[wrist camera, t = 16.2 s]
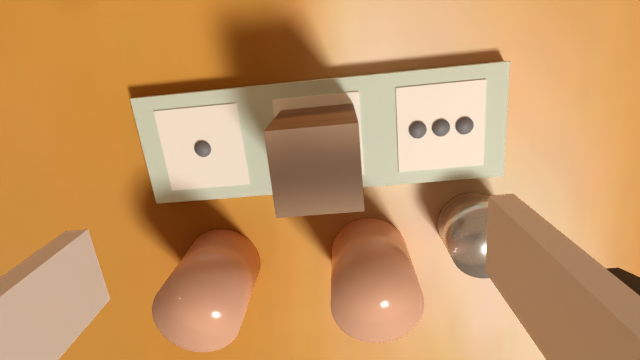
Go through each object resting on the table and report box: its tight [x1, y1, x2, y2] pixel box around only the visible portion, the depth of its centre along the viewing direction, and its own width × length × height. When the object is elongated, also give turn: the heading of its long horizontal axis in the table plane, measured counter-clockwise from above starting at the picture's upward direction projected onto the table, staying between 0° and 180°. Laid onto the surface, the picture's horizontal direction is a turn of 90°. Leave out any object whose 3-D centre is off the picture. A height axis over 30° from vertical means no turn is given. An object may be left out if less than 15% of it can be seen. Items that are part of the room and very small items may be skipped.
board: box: [130, 61, 510, 204], centre depth 28 cm, size 26×8×1 cm, turn 96°
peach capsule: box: [152, 229, 260, 352], centre depth 30 cm, size 6×6×7 cm
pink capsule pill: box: [331, 218, 424, 343], centre depth 29 cm, size 6×6×7 cm
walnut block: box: [263, 103, 364, 218], centre depth 25 cm, size 5×5×7 cm
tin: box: [437, 193, 490, 278], centre depth 29 cm, size 5×5×4 cm
